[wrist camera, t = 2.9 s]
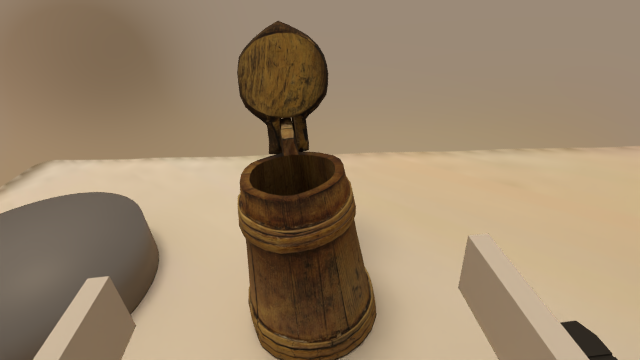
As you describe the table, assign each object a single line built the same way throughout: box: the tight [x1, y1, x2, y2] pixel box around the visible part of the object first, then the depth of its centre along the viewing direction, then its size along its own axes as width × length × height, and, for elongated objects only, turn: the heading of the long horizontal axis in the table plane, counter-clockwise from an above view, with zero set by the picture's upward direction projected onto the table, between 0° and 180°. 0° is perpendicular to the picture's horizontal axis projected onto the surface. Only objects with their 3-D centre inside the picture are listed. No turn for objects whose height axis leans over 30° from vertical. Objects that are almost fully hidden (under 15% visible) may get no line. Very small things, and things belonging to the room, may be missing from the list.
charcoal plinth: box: [0, 192, 159, 360], centre depth 27 cm, size 18×18×4 cm
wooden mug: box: [237, 21, 376, 360], centre depth 22 cm, size 9×14×18 cm, turn 5°
